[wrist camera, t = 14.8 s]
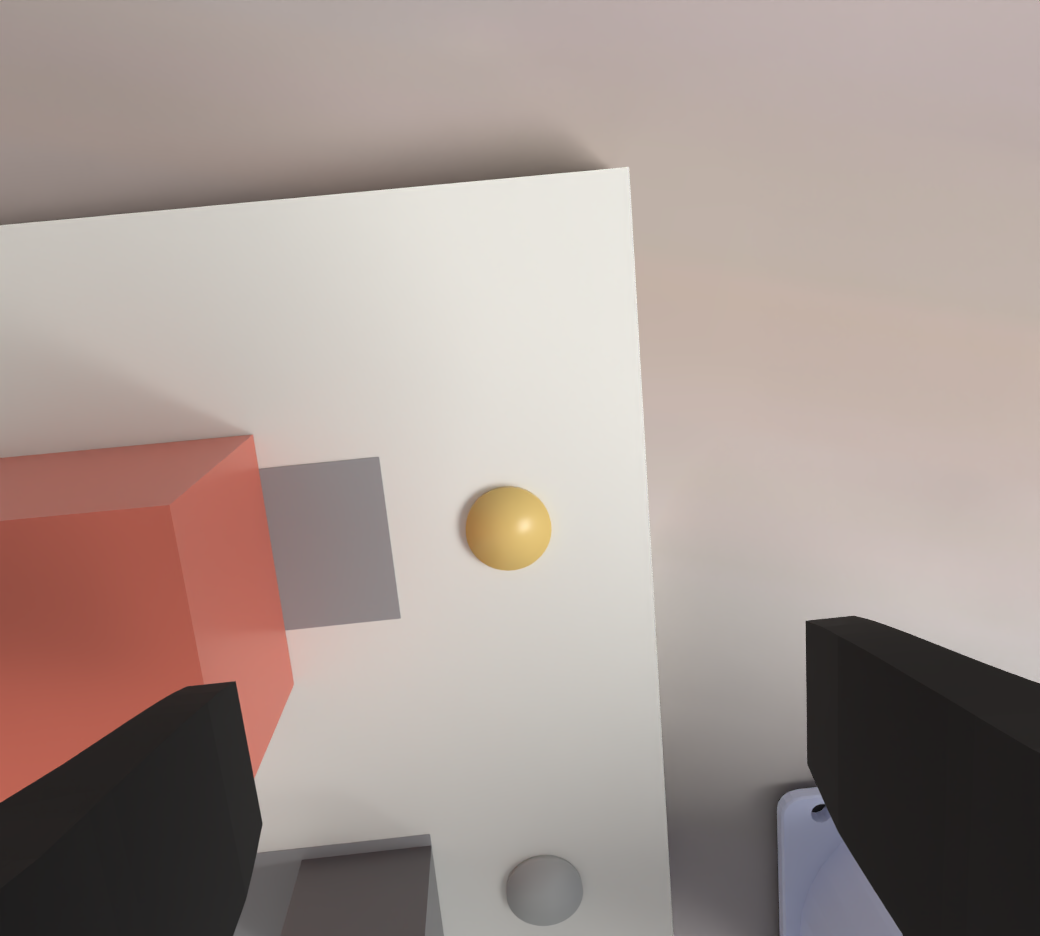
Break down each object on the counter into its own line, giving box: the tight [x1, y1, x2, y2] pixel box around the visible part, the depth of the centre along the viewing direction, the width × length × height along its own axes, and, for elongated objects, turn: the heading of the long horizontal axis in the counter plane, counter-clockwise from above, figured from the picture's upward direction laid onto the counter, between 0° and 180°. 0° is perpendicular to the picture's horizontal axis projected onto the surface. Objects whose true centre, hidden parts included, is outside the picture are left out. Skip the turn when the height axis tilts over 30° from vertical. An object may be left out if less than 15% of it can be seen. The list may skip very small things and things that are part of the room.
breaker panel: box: [0, 167, 673, 936], centre depth 19 cm, size 15×20×4 cm
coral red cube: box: [0, 435, 294, 802], centre depth 16 cm, size 6×6×5 cm
